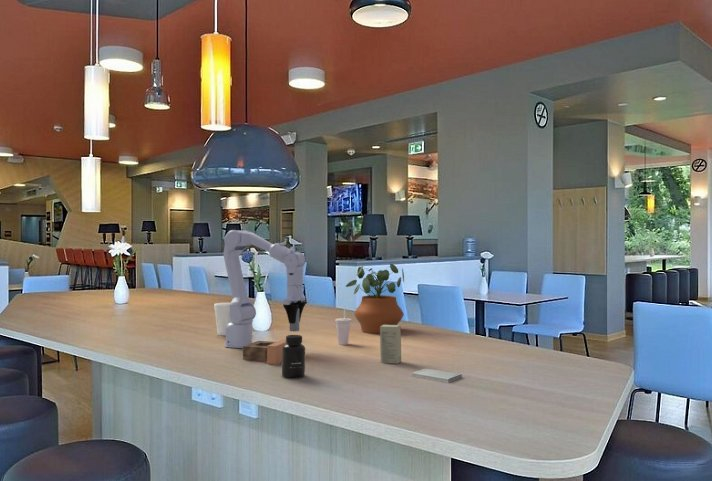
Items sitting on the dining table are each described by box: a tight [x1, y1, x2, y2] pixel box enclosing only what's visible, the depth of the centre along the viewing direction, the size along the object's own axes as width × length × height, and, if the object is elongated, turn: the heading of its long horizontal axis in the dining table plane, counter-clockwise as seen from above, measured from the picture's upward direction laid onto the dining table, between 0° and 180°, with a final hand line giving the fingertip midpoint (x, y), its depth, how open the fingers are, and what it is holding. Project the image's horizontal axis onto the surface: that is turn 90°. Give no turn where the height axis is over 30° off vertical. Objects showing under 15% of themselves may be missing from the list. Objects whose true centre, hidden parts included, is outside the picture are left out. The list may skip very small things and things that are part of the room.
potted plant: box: [345, 263, 405, 334], centre depth 256 cm, size 23×28×30 cm
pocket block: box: [242, 340, 277, 362], centre depth 195 cm, size 11×11×4 cm
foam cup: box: [213, 302, 232, 337], centre depth 243 cm, size 10×9×13 cm
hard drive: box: [411, 368, 463, 383], centre depth 169 cm, size 2×8×12 cm
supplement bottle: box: [281, 334, 306, 380], centre depth 169 cm, size 7×7×12 cm
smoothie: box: [334, 307, 352, 346], centre depth 221 cm, size 6×6×14 cm
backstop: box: [266, 338, 287, 366], centre depth 193 cm, size 3×18×6 cm, turn 161°
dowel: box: [289, 308, 300, 332], centre depth 207 cm, size 4×4×8 cm
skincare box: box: [379, 324, 402, 364], centre depth 189 cm, size 6×4×12 cm
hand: (294, 322), depth 207 cm, fingers closed on dowel, 3 cm apart
